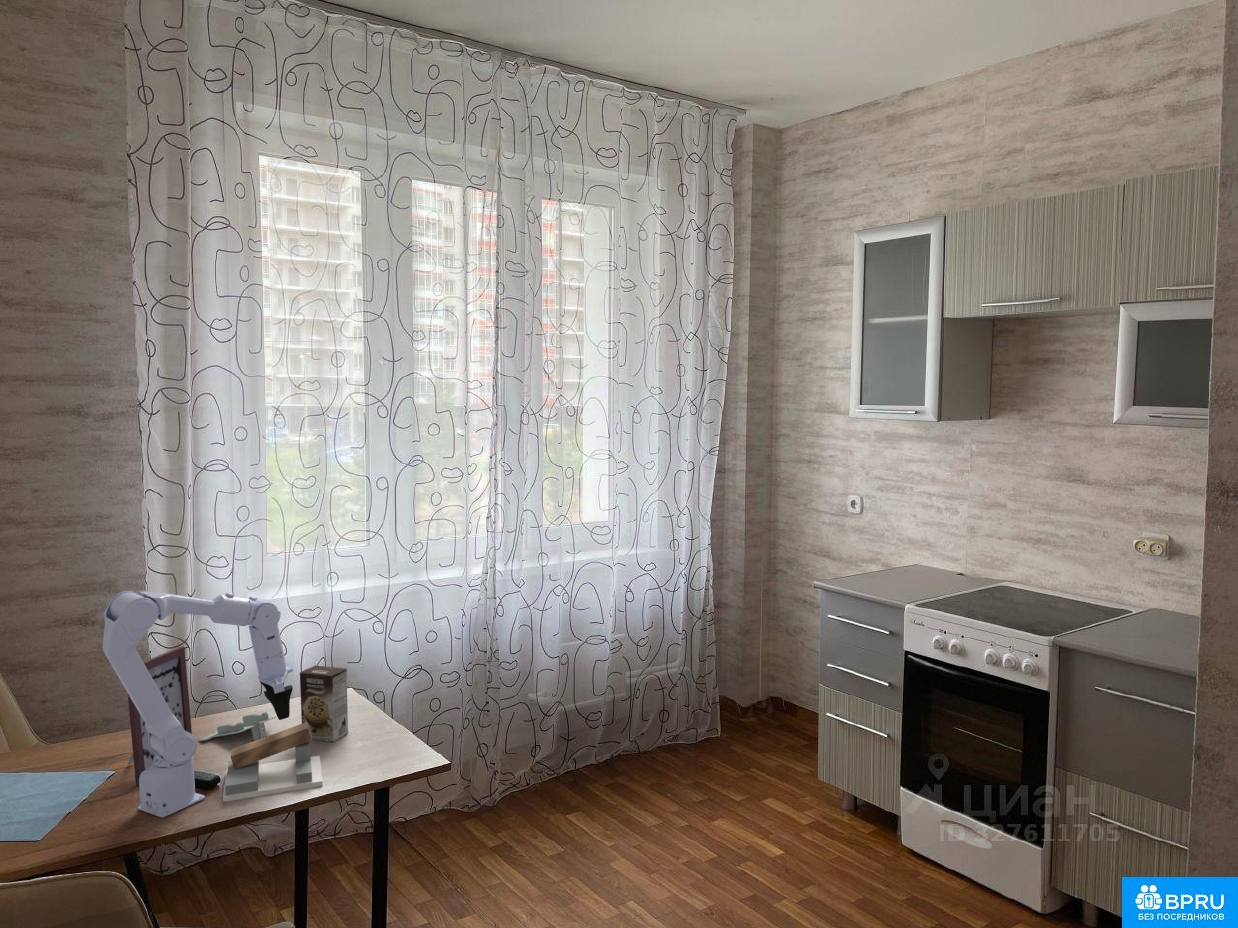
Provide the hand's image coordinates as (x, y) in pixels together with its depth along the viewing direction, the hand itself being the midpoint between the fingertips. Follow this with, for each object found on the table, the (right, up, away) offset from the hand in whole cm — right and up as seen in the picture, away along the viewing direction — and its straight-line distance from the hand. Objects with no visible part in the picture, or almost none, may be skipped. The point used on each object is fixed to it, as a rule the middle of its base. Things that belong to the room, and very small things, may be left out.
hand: (281, 711), depth 192 cm
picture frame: (-30, -13, +2) cm, 33 cm away
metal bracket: (-17, -12, +20) cm, 29 cm away
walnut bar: (-1, -8, -2) cm, 8 cm away
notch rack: (0, -13, -5) cm, 14 cm away
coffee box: (+3, -11, +19) cm, 22 cm away
